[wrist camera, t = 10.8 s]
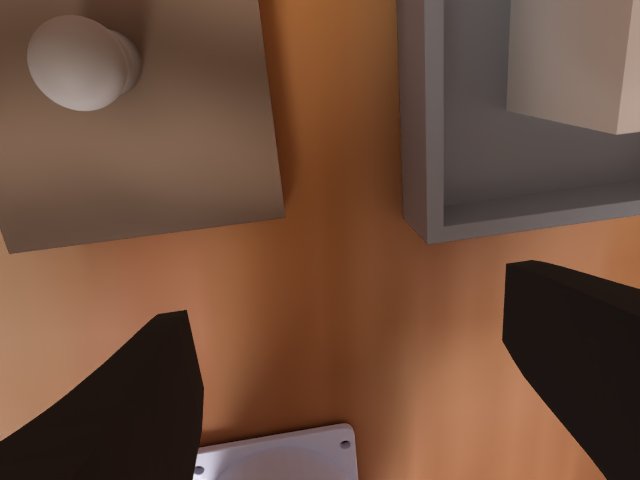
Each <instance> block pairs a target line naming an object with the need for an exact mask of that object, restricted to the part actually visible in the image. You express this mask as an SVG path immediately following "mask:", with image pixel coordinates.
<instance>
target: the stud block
mask: <svg viewBox="0 0 640 480" xmlns="http://www.w3.org/2000/svg"><path fill="white" fill-rule="evenodd" d="M281 218H286V217H285V209H284V202H283V194H282V186H281V178H280V170H279V162H278V154H277V146H276V138H275V130H274V122H273V114H272V106H271V98H270V90H269V82H268V74H267V66H266V58H265V50H264V43H263V35H262V27H261V19H260V11H259V3H258V0H0V229H1V232H2V235H3V238H4V241H5V243H6V246H7V249H8V252H9V254H12V253H20V252H27V251H35V250H43V249H50V248H58V247H66V246H73V245H81V244H89V243H96V242H104V241H112V240H119V239H127V238H135V237H142V236H150V235H158V234H166V233H173V232H181V231H189V230H196V229H204V228H212V227H219V226H227V225H235V224H242V223H250V222H258V221H265V220H273V219H281Z"/></svg>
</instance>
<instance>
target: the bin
mask: <svg viewBox="0 0 640 480" xmlns="http://www.w3.org/2000/svg"><path fill="white" fill-rule="evenodd" d="M396 3H397V35H398V66H399V97H400V128H401V159H402V191H403V219H404V220H405V221H406V222H407V223H408V224H409V225H410V226H411V227H412V228H413V229H414V231H415V232H416V233H417V234H418V235H419V236H420V237H421V238H422V239H423V240H424V241H425V242H426V243H427V244H435V243H442V242H449V241H456V240H464V239H471V238H478V237H485V236H492V235H500V234H507V233H514V232H521V231H528V230H536V229H543V228H550V227H557V226H564V225H572V224H579V223H586V222H593V221H600V220H608V219H615V218H622V217H629V216H636V215H640V132H634V133H626V134H618V135H615V134H611V133H606V132H601V131H597V130H592V129H588V128H583V127H578V126H574V125H569V124H565V123H560V122H555V121H551V120H546V119H542V118H537V117H533V116H528V115H523V114H519V113H514V112H510V111H506V103H507V80H508V56H509V32H510V9H511V0H396Z"/></svg>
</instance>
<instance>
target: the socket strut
mask: <svg viewBox="0 0 640 480" xmlns="http://www.w3.org/2000/svg"><path fill="white" fill-rule="evenodd" d="M506 111H510V112H514V113H519V114H523V115H528V116H533V117H537V118H542V119H546V120H551V121H555V122H560V123H565V124H569V125H574V126H578V127H583V128H588V129H592V130H597V131H601V132H606V133H611V134H615V135H618V134H626V133H634V132H640V0H511V9H510V32H509V56H508V80H507V103H506Z"/></svg>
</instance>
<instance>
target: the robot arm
mask: <svg viewBox="0 0 640 480" xmlns="http://www.w3.org/2000/svg"><path fill="white" fill-rule="evenodd" d="M502 341H503V343H504V345H505V346H506V348H507V350H508V351H509V353H510V355H511V357H512V358H513V360H514V362H515V363H516V365H517V366H518V368H519V370H520V371H521V373H522V374H523V376H524V377H525V378H526V380H527V381H528V382H529V384H530V385H531V386H532V387H533V389H534V390H535V391H536V392H537V393H538V395H539V396H540V397H541V398H542V400H543V401H544V402H545V403H546V405H547V406H548V407H549V408H550V409H551V411H552V412H553V413H554V414H555V415H556V417H557V418H558V419H559V420H560V421H561V423H562V424H563V425H564V426H565V427H566V429H567V430H568V431H569V432H570V433H571V435H572V436H573V437H574V438H575V440H576V441H577V442H578V443H579V444H580V446H581V447H582V448H583V449H584V450H585V452H586V453H587V454H588V455H589V456H590V458H591V459H592V460H593V462H594V463H595V464H596V466H597V467H598V468H599V470H600V471H601V472H602V473H603V475H604V476H605V478H606V479H607V480H640V289H637V288H634V287H630V286H627V285H623V284H620V283H616V282H613V281H610V280H606V279H603V278H599V277H596V276H593V275H589V274H586V273H583V272H579V271H576V270H572V269H569V268H565V267H562V266H558V265H554V264H550V263H546V262H541V261H534V260H529V261H522V262H515V263H509V264H506V278H505V298H504V317H503V336H502ZM203 398H204V386H203V382H202V377H201V373H200V368H199V364H198V359H197V355H196V350H195V346H194V341H193V337H192V332H191V327H190V323H189V318H188V314H187V310H183V311H177V312H170V313H163V314H158V315H156V316H155V317H154V318H152V319H151V320H150V321H149V322H148V323H147V324H146V325H145V326H143V327H142V328H141V329H140V330H139V331H138V332H137V333H136V334H135V335H134V336H133V337H132V338H131V339H130V340H129V341H127V342H126V343H125V344H124V345H123V346H122V347H121V348H120V349H119V350H118V351H117V352H116V353H114V354H113V355H112V356H111V357H110V358H109V359H108V360H107V361H106V362H105V363H104V364H102V365H101V366H100V367H99V368H98V369H97V370H95V371H94V372H93V373H92V374H91V375H89V376H88V377H87V378H86V379H85V380H83V381H82V382H81V383H80V384H79V385H77V386H76V387H75V388H74V389H73V390H72V391H70V392H69V393H68V394H67V395H65V396H64V397H63V398H62V399H60V400H59V401H58V402H56V403H55V404H54V405H52V406H51V407H50V408H48V409H47V410H46V411H44V412H43V413H42V414H40V415H39V416H37V417H36V418H34V419H33V420H32V421H30V422H29V423H27V424H26V425H24V426H23V427H22V428H20V429H19V430H17V431H16V432H14V433H13V434H11V435H10V436H8V437H7V438H5V439H4V440H2V441H0V480H358V469H357V457H356V446H355V434H354V431H353V428H352V426H351V425H350V424H347V423H342V424H336V425H330V426H324V427H318V428H312V429H307V430H301V431H295V432H289V433H283V434H277V435H271V436H265V437H259V438H253V439H248V440H242V441H236V442H230V443H224V444H218V445H212V446H206V447H200V448H199V443H200V437H201V432H202V419H203ZM342 441H347V442H346V443H341V442H342ZM196 466H201V467H202V468H197V467H196Z"/></svg>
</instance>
